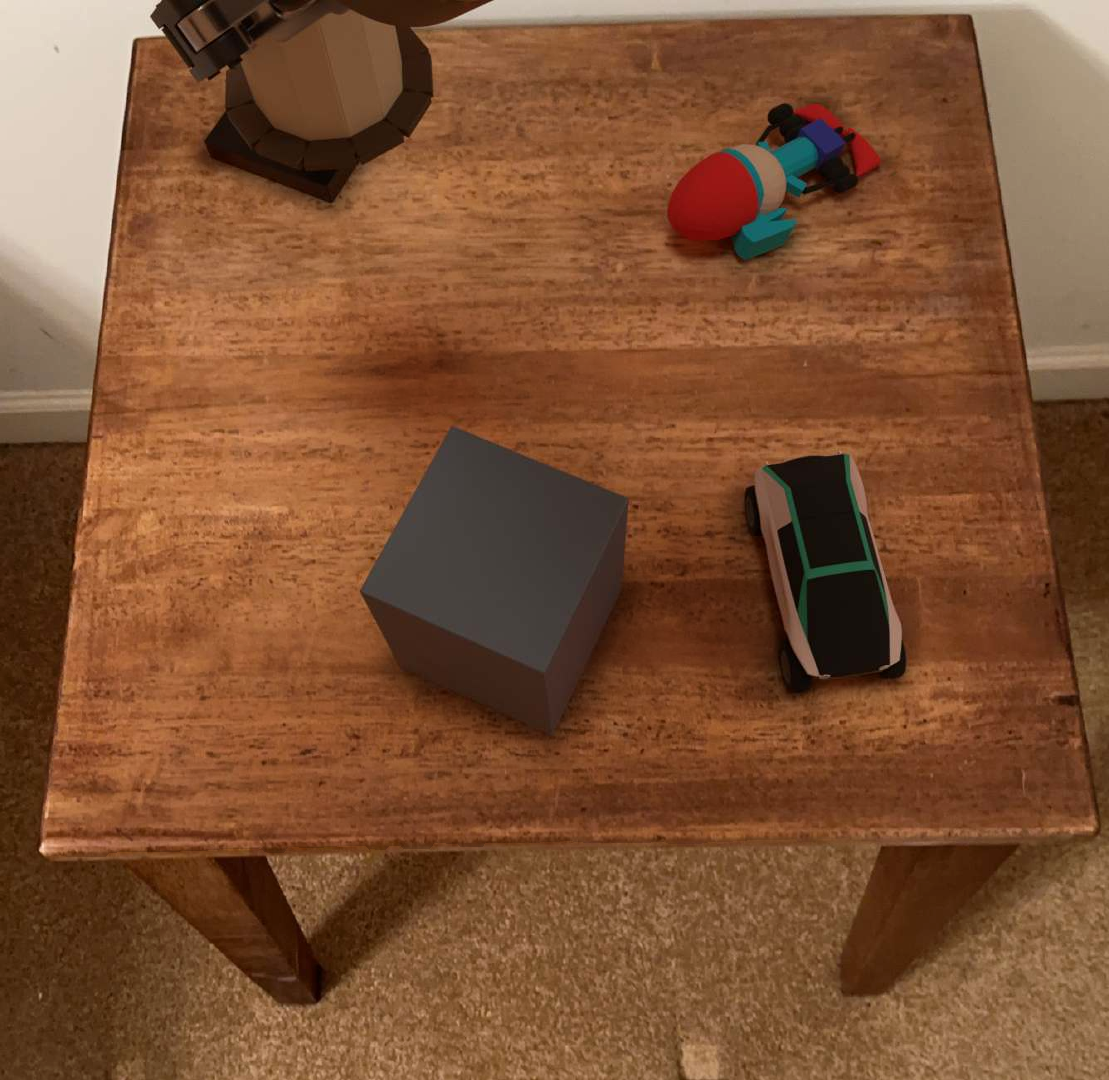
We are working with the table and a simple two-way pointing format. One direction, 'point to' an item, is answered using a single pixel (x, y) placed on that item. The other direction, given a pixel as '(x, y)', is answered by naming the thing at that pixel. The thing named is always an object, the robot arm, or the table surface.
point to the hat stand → (272, 163)
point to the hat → (331, 92)
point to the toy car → (825, 571)
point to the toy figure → (766, 180)
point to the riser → (500, 578)
